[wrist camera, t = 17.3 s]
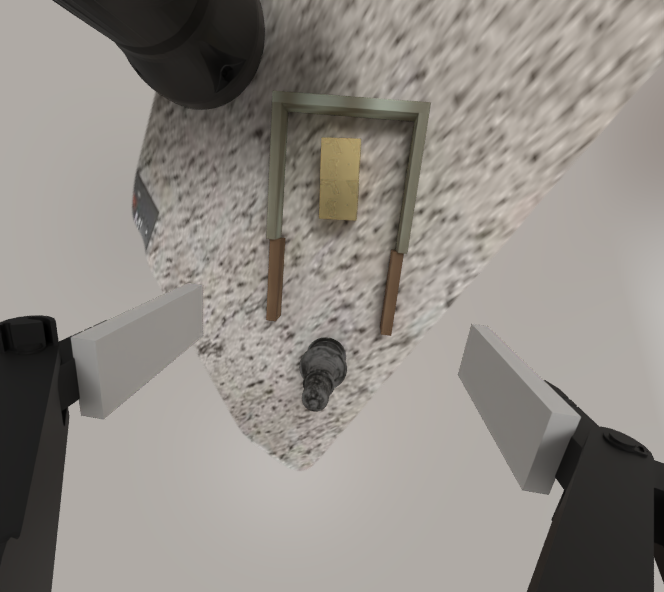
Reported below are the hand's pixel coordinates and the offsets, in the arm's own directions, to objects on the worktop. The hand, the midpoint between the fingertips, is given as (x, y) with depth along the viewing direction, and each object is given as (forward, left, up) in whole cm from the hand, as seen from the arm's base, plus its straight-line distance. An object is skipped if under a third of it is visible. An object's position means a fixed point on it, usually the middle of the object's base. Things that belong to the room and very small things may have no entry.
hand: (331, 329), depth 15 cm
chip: (-2, +11, -24) cm, 27 cm away
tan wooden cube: (-2, +7, -24) cm, 25 cm away
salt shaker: (-2, -13, -25) cm, 28 cm away
